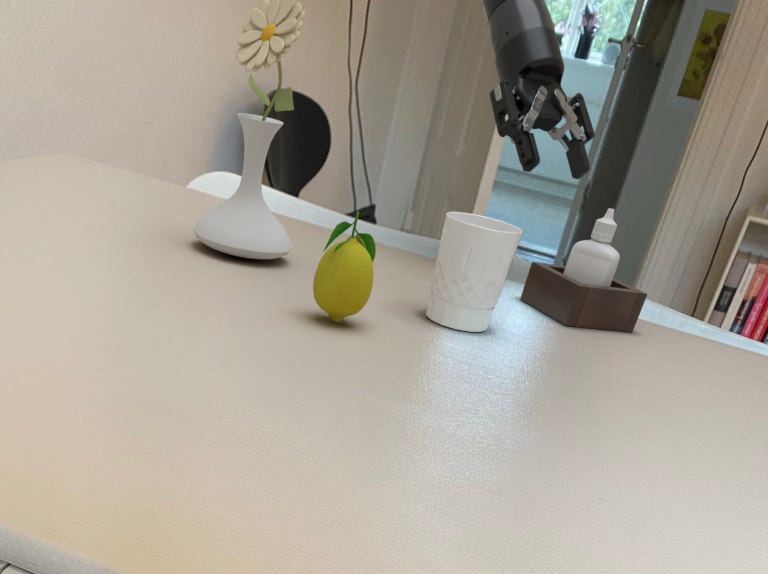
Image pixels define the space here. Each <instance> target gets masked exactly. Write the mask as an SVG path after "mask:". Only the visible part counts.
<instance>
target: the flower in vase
mask: <svg viewBox="0 0 768 574" xmlns="http://www.w3.org/2000/svg"><path fill="white" fill-rule="evenodd" d="M302 9H303V6H302V4H301V3H300V2H299V1H297V2H296V0H263V1H262V2H261V3H260V8H257V7H254V8H252V9H251V10H250V11H249V19H250V20H249V19H248V20H246V21H244V23H243V25H242V30H241V32H240V34H239V35H238V36H237V38H236V43H237V44H238V46H239V47H240V48H238V49H237V51H236V52H235V59H236V60H237V62H238V63H239V64H240V65H241V66H244V70H245V72H251V71H253V72H258V71H260V70H261V69H262V68H264V69H265V70H268V69H269V68H270V67H272V66H273V65H274V64H277V73H278V83H277V87H276V91H275V93H274V95H273V97H272V99H271V101H270V98H269V97H268V95H267V94H266V93H265V92H264V91H263V90H262V89H261V88H260V87H259V86H258V85H257V83H256V81H255V80H254V77H253V76H252V73H250V74H249V76H248V85H249V87H250V88H251V90H252V91H253V92H254V93H255V94H256V96H258V97H259V99H260V100H261V101H262V102H263V103H264V104H265V105H266V106H267V108H266V109H265V112H264V114H263V115H260V114H259V115H258V114H252V113H247V112H238V113H237V114H236V115H237V118H238V120H239V123H240V125H241V129H242V134H243V145H244V148H243V165H242V172H241V178H240V181H239V185H238V187H237V189H236V191H235V192H234V193H233V194H232V195H231V196H230V197H229V198H227V199H226V200H224V201H223V202H221V203H220V204H218V205H216V206H215V207H213V208H212V209H210V210H208V211H207V212H205V214H203V215H202V216H201V217H200V218H199V219H198V220H197V221H196V222H195V224H194V226H193V229H192V231H193V233H194V235H195V237H196V239H198V240H199V241H200V242H201V243H202V244H204V245H206V246H207V247H208V248H211V249H213V250H216V251H218V252H221V253H224V254H227V255H230V256H234V257H238V258H244V259H250V260H275V259H279V258H282V257H286V256H288V254H289V253H290V252H291V251H292V250H293V244H292V240H291V238H290V235H289V234H288V232H287V230H286V229H285V227H284V226H283V225H282V223H281V222H280V221H279V220H278V218H277V217H276V215H275V214H274V213H273V212H272V210H271V209H270V208H269V206H268V205H267V203H266V201H265V198H264V195H263V191H262V190H263V187H262V186H263V185H262V182H263V174H264V169H265V163H266V159H267V155H268V152H269V149H270V147H271V143H272V141H273V139H274V138H275V135H276V134H277V132H278V131H279V130H280V129H281V128H282V127H283V125H284V122H283V121H281V120H278V119H275V118H272V117H268V115H269V113H270V111H271V109H272V108H273V106H274V111H275V112H284V111H294V110H295V106H294V98H293V88H292V86H288V87H284V88H282V84H283V71H282V69H283V68H282V62H281V61H282V58H283V55H286V54H288V52H289V51H290V49H291V45H293V43H295V42H297V41H298V40H299V38H300V36H301V33H300V30H301V29H302V27H303V25H304V22H303V20H304V18H305V16H306V11H305V10H302ZM281 88H282V89H281Z"/></svg>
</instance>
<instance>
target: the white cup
mask: <svg viewBox="0 0 768 574" xmlns="http://www.w3.org/2000/svg"><path fill="white" fill-rule="evenodd" d="M523 233H524V231H523V229H522V228H520V227H518V226H517V225H514V224H511V223H509V222H506V221H503V220H500V219H496V218H493V217H489V216H484V215H479V214H475V213H470V212H464V211H463V212H462V211H448V212H446V213H445V218H444V221H443V226H442V231H441V235H440V239H439V244H438V249H437V254H436V258H435V263H434V268H433V272H432V280H431V283H430V290H431V291H430V292H429V298H428V303H427V307H426V313H425V316H426V317H427V318H428V319H429V320H430V321H432V322H434V323H436V324H438V325H441V326H444V327H446V328H450V329H454V330H458V331H465V332H471V333H481V332H484V331H487V330H488V328H489V325H490V322H491V319H492V316H493V313H494V311H495V307H496V305H497V304H498V302H499V300H500V297H501V294H502V293H503V289H504V286H505V283H506V281H507V279H508V276H509V273H510V270H511V267H512V264H513V261H514V258H515V256H516V253H517V251H518V247H519V244H520V241H521V239H522V236H523Z"/></svg>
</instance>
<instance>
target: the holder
mask: <svg viewBox="0 0 768 574" xmlns="http://www.w3.org/2000/svg"><path fill="white" fill-rule="evenodd" d="M565 267H566V265H561V264H554V263H546V262H537V261H532V262H531V264H530V267H529V270H528V273H527V276H526V279H525V283H524V284H523V285H524V286H523V288H522V292H521V296H520V298H519V300H520V301H522V302H524V303H526V304H527V305H529V306H531V307H532V308H534V309H536V310H538V311H539V312H540V313H543V314H545V315H547V316H548V317H549V318H552V319H553V320H555V321H556V322H558V323H560V324H562V325H564V326H565V327H574V328H583V329H595V330H603V331H615V332H625V333H633V332H634V330H635V327H636V324H637V322H638V319H639V318H640V314H641V312H642V309H643V307H644V304H645V302H646V299H647V297H648V293H647V292H644V291H643V290H641V289H638V288H636V287H634V286H632V285H631V284H628V283H626V282H623V281H621V280H619V279H618V278H616V277H613V280H612V283H611V285H610V287H607V286H598V285H590V284H582V283H580V282H578V281H576V280H574V279H572V278H570V277H568V276H566V275H564V274H563V272H564V270H565Z"/></svg>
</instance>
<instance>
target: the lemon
mask: <svg viewBox="0 0 768 574" xmlns="http://www.w3.org/2000/svg"><path fill="white" fill-rule="evenodd" d="M359 215H360V212H359V210H357V211H356V213H355V218H354V221H353V222H352V223H350V222H348V221H341V222H339V223H338V224H336V226H335V227H334V229H333V230H332V232H331V233H330V236H329V238H328V240H327V243H326V245H325V246H324V249H323V250H322V252H324V254H323V255H322V256H321V258H320V260H319V261H318V264H317V267H316V270H315V273H314V277H313V281H312V282H313V283H312V293H313V298H314V300H315V303H316V304H317V306H318V307H319V308H320V309H321V310H322V311H324V312H325V313H326V314H327V315H328V316H329V318H330V319H331V321H332V322H334V323H340V322H341V321H342V320H344V318H347V317H351V316H354V315H356V314H358V313H360V312H361V311H362V310H363V309H364V307H365V306H366V304H367V303H368V301H369V300H370V296H371V294H372V289H373V285H374V277H375V276H374V273H375V272H374V260H375V258H376V253H377V249H376V242H375V240H374V237H373V236H372V235H371V234H370V233H367V232H366V233H365V232H359V231H358V229H357V223H358V221H359ZM351 227H352V231H351V235H350V236H348V237H347V238H346V239H345V240H342V241H338V242H336V243H334V244H332V243H333V242H334V241H335V240H336V239H337V238H339V236H340V235H342V234H343V233H345V232H346V231H348V229H349V228H351ZM355 233H356V235H355ZM331 244H332V245H331ZM329 246H330V247H329ZM327 248H328V249H327Z"/></svg>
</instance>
